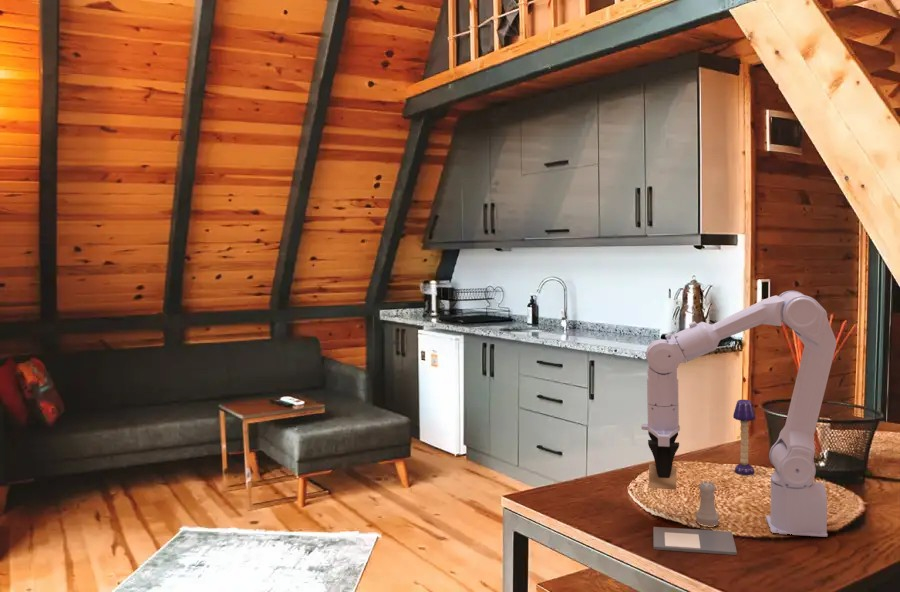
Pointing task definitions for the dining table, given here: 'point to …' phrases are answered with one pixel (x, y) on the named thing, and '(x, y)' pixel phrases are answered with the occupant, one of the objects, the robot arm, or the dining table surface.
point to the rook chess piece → (707, 505)
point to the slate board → (694, 540)
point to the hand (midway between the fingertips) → (663, 472)
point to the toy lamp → (744, 434)
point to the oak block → (661, 479)
